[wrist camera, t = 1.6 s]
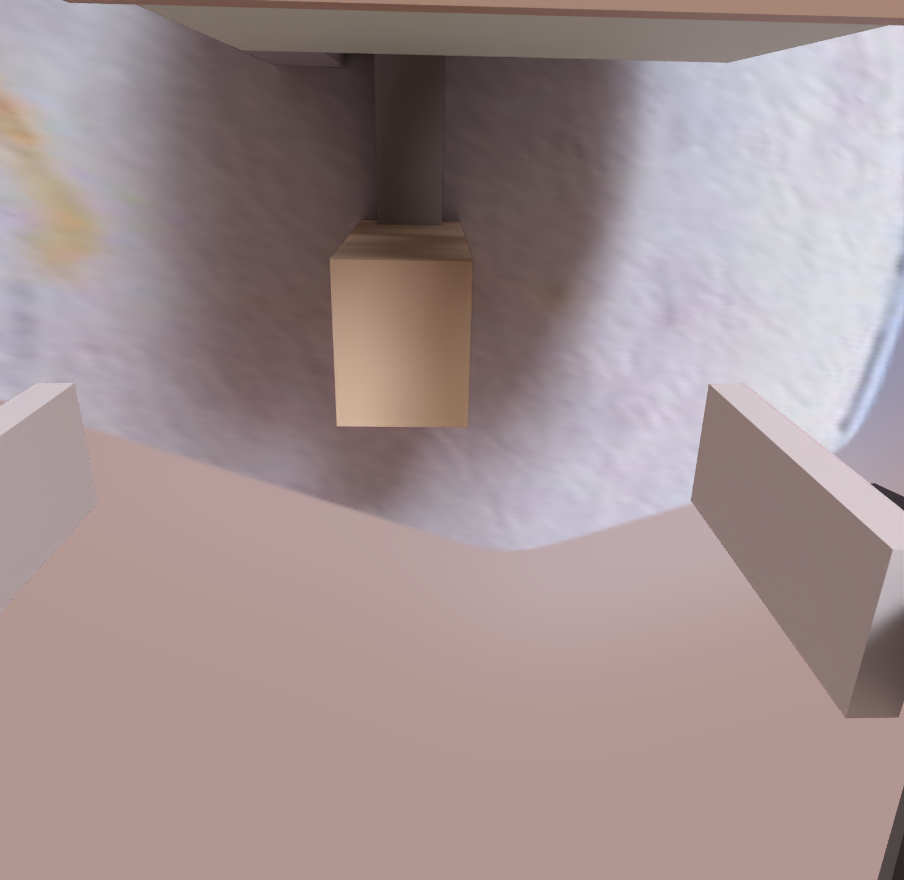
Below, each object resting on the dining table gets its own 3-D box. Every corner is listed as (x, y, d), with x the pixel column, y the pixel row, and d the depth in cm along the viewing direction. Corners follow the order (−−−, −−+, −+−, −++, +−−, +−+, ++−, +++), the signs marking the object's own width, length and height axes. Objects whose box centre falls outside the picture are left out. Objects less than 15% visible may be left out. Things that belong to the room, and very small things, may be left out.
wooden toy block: (364, 340, 32) (336, 426, 22) (347, -300, 23) (293, -579, 14) (457, 341, 32) (467, 427, 22) (472, -296, 24) (498, -568, 14)
